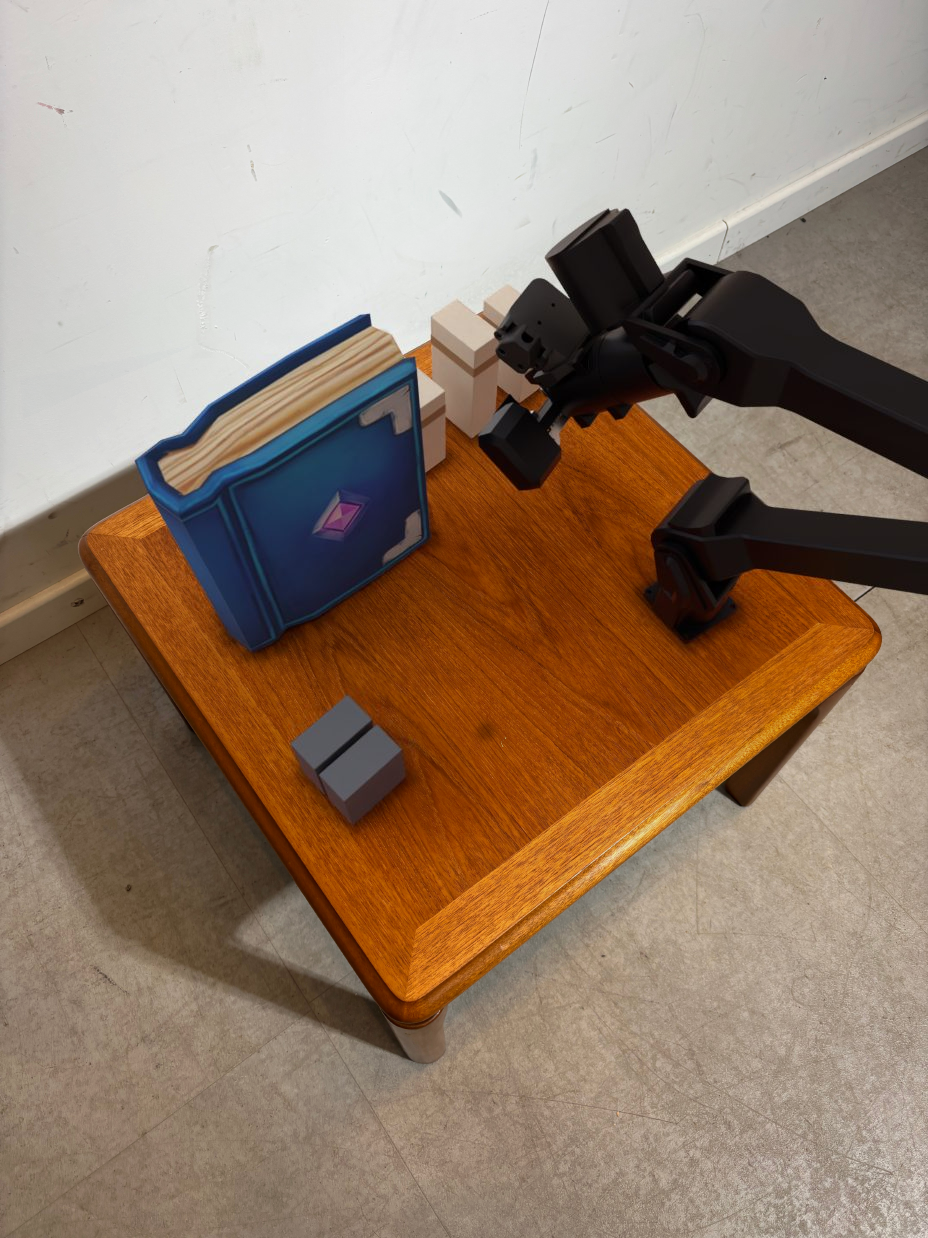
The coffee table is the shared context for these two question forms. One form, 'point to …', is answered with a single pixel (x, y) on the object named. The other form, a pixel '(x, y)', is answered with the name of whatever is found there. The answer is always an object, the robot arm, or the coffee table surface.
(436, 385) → the cream lidded boxes
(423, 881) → the coffee table surface
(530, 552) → the coffee table surface
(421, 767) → the coffee table surface
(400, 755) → the grey blocks
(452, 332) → the white lidded box
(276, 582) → the book
